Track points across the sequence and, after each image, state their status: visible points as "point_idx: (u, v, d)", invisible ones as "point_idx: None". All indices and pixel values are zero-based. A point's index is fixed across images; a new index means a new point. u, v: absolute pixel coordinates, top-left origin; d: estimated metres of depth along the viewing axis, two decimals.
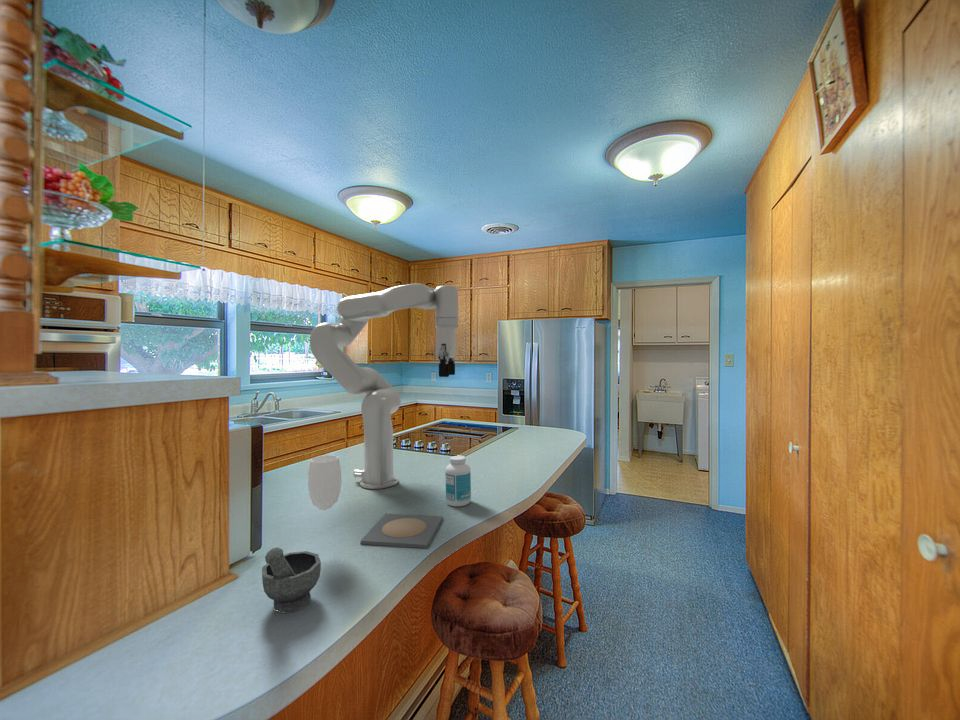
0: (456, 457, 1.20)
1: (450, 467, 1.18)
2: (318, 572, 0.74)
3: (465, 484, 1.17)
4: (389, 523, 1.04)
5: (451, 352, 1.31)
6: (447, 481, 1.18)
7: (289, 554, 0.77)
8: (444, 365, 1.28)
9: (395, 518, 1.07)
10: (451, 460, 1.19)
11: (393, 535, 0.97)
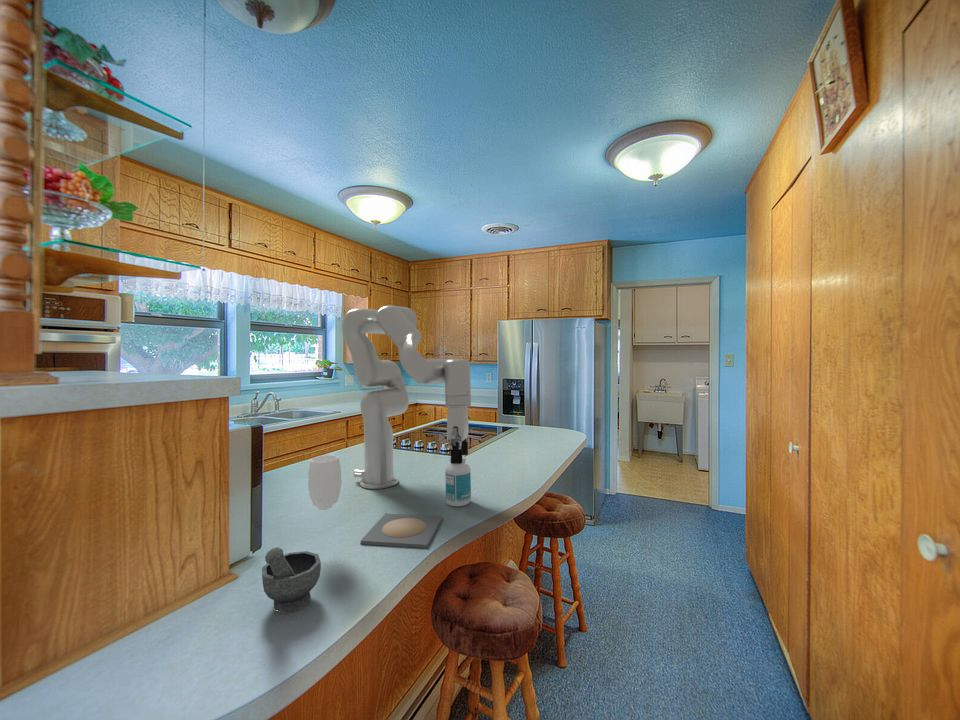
0: None
1: (450, 467, 1.18)
2: (318, 572, 0.74)
3: (465, 484, 1.17)
4: (389, 523, 1.04)
5: (464, 434, 1.16)
6: (447, 481, 1.18)
7: (289, 554, 0.77)
8: (457, 451, 1.14)
9: (395, 518, 1.07)
10: None
11: (393, 535, 0.97)
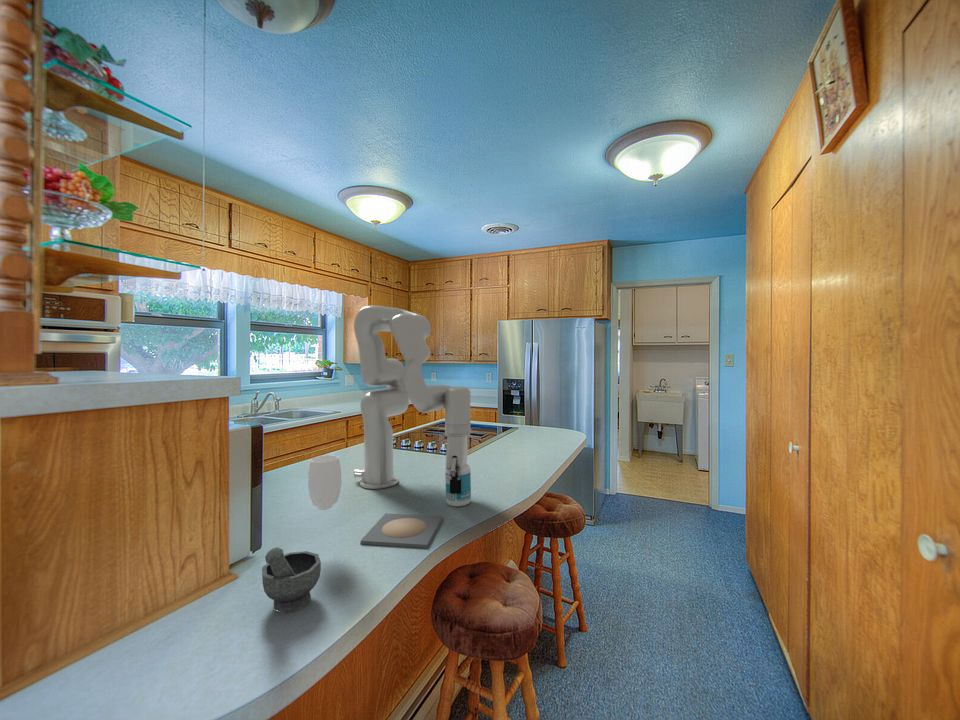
0: None
1: None
2: (318, 572, 0.74)
3: (465, 484, 1.17)
4: (389, 523, 1.04)
5: (463, 463, 1.17)
6: (447, 481, 1.18)
7: (289, 554, 0.77)
8: (456, 481, 1.15)
9: (395, 518, 1.07)
10: None
11: (393, 535, 0.97)
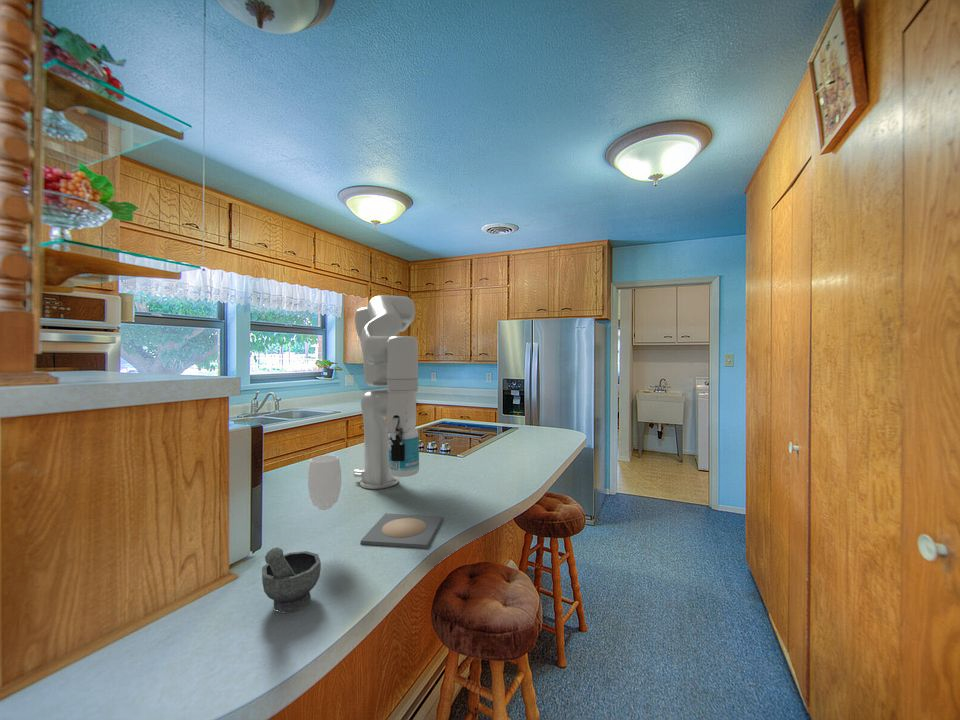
0: None
1: None
2: (318, 572, 0.74)
3: (410, 450, 0.99)
4: (389, 523, 1.04)
5: (407, 425, 0.98)
6: (389, 447, 0.99)
7: (289, 554, 0.77)
8: (398, 446, 0.96)
9: (395, 518, 1.07)
10: None
11: (393, 535, 0.97)
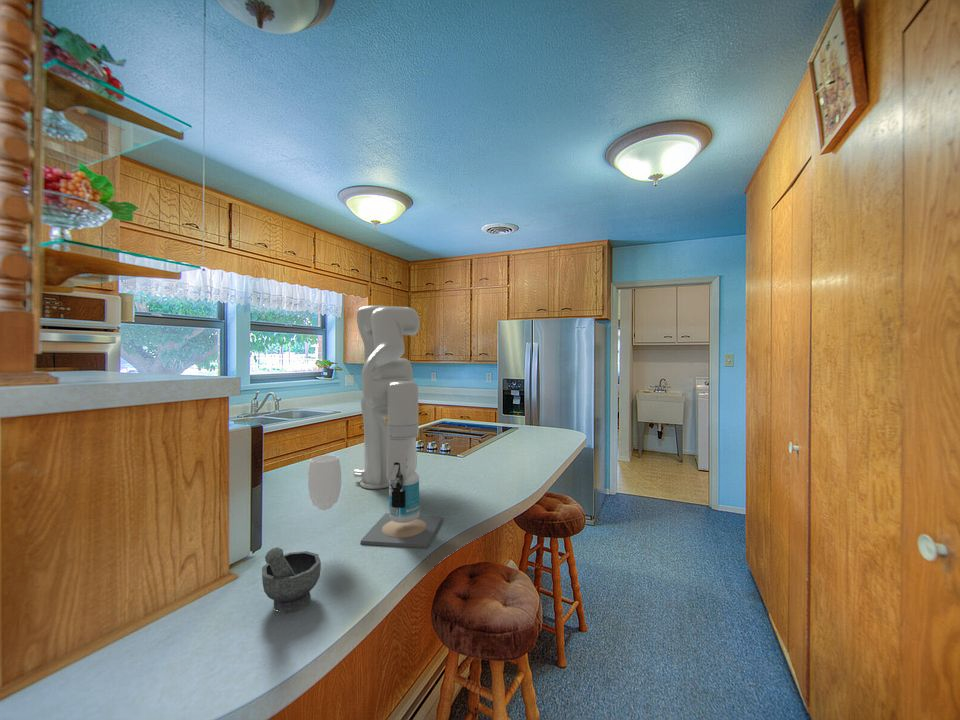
0: None
1: None
2: (318, 572, 0.74)
3: (411, 496, 0.99)
4: (389, 523, 1.04)
5: (408, 472, 0.98)
6: (390, 492, 1.00)
7: (289, 554, 0.77)
8: (398, 493, 0.97)
9: None
10: None
11: (393, 535, 0.97)
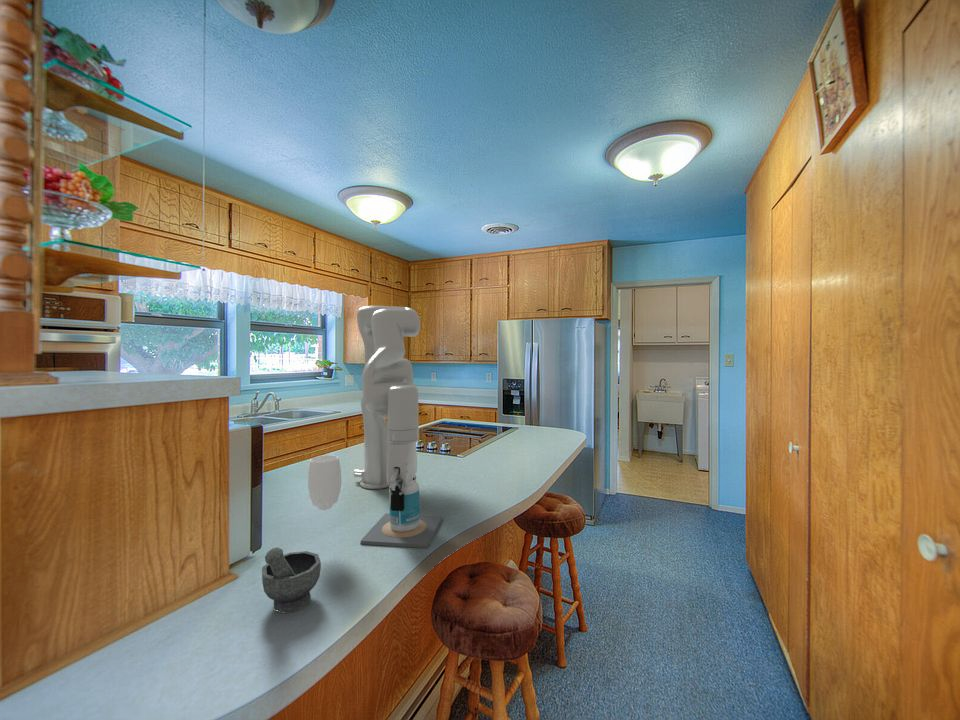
0: None
1: None
2: (318, 572, 0.74)
3: (411, 505, 0.99)
4: (389, 523, 1.04)
5: (408, 476, 0.98)
6: (390, 502, 1.00)
7: (289, 554, 0.77)
8: (397, 496, 0.96)
9: None
10: None
11: (393, 535, 0.97)
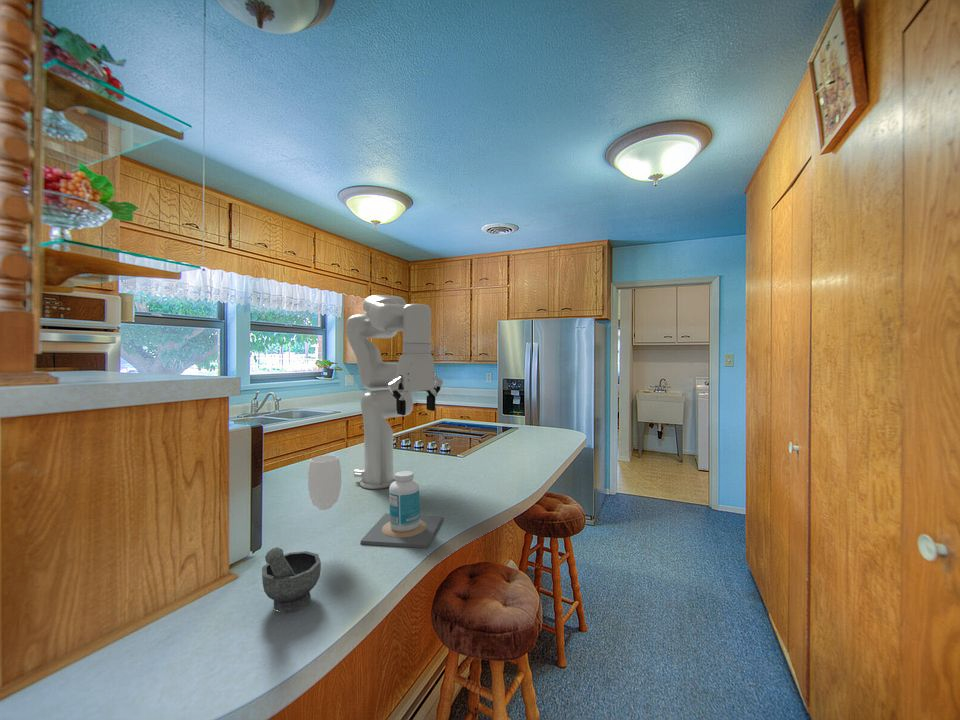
0: (402, 473, 1.02)
1: (394, 485, 1.00)
2: (318, 572, 0.74)
3: (411, 505, 0.99)
4: (389, 523, 1.04)
5: (411, 385, 1.07)
6: (390, 501, 1.00)
7: (289, 554, 0.77)
8: (398, 401, 1.07)
9: None
10: (395, 477, 1.01)
11: (393, 535, 0.97)
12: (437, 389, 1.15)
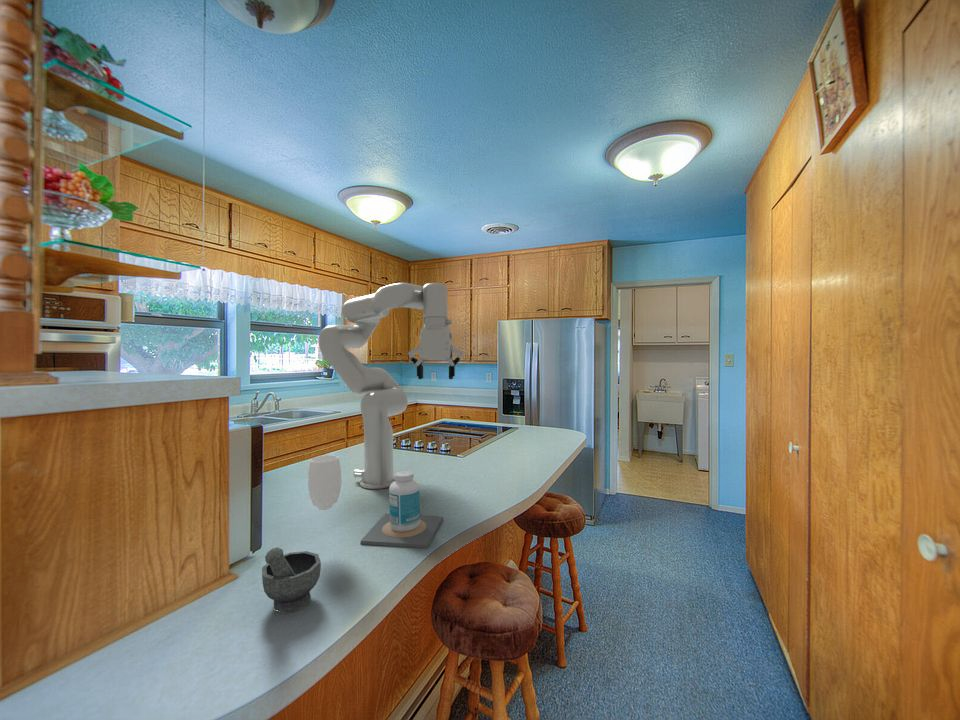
0: (402, 473, 1.02)
1: (394, 485, 1.00)
2: (318, 572, 0.74)
3: (411, 506, 0.99)
4: (389, 523, 1.04)
5: (423, 354, 1.25)
6: (390, 501, 1.00)
7: (289, 554, 0.77)
8: None
9: None
10: (395, 477, 1.01)
11: (393, 535, 0.97)
12: (455, 360, 1.25)
